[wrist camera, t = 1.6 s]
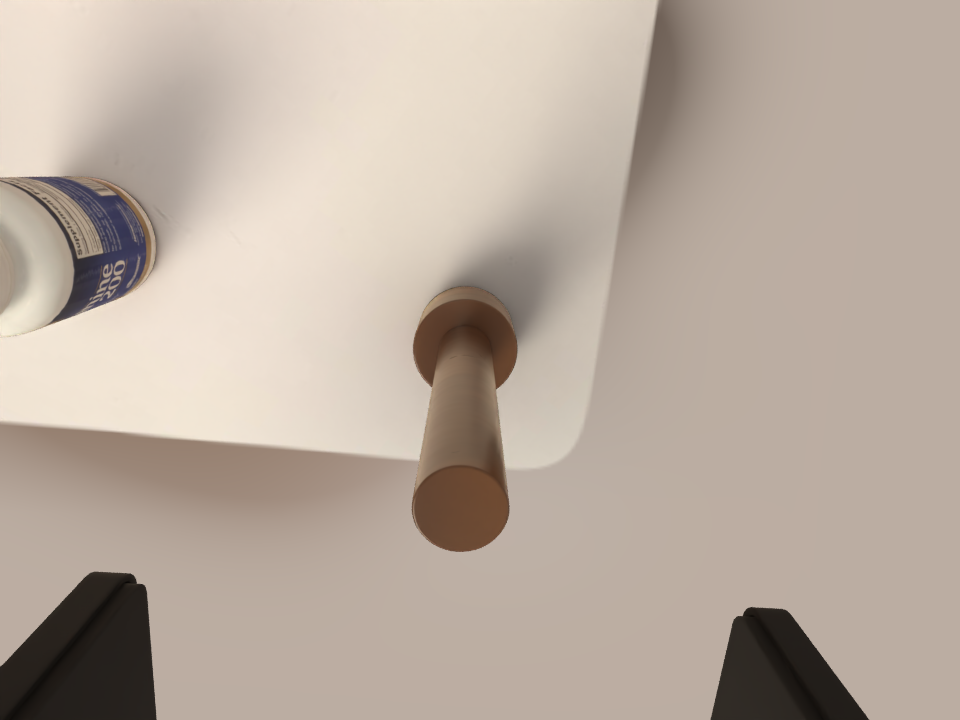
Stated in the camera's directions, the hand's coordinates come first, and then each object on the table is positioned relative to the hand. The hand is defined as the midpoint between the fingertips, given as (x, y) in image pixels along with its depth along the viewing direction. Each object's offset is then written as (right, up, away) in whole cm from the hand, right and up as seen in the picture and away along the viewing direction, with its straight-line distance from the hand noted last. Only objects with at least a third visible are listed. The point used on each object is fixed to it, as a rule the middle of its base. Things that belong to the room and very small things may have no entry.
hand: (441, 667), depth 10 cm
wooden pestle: (0, +6, +19) cm, 20 cm away
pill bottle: (-16, +10, +18) cm, 27 cm away
